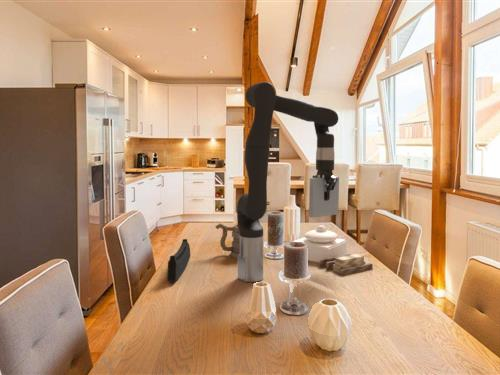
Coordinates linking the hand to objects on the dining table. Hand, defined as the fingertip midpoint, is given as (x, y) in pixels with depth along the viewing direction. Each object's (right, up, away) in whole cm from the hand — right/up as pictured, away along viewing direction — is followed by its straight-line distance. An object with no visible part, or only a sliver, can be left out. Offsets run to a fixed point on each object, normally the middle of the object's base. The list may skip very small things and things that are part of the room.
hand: (324, 199), depth 178 cm
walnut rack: (+8, -29, -2) cm, 31 cm away
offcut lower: (+10, -28, -5) cm, 30 cm away
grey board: (0, -7, +1) cm, 7 cm away
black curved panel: (-60, -30, -3) cm, 67 cm away
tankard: (-37, -27, +23) cm, 51 cm away
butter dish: (+1, -28, +15) cm, 32 cm away
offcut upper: (+10, -26, -5) cm, 28 cm away
